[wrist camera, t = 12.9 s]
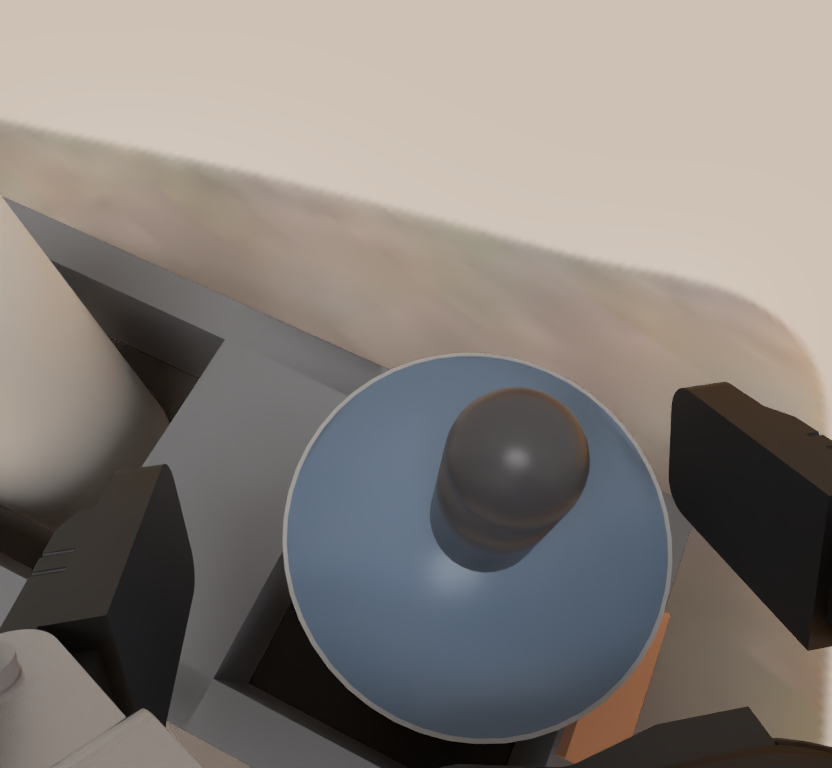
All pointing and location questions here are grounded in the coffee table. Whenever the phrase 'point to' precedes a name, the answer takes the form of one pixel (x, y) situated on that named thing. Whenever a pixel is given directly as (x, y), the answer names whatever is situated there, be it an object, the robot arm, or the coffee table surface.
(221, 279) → the coffee table surface
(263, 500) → the gray two-compartment caddy
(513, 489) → the canister
